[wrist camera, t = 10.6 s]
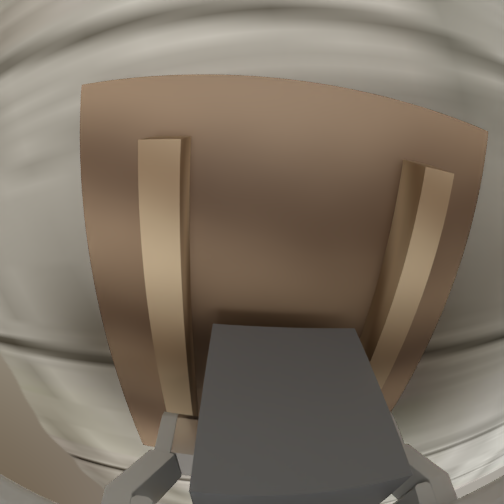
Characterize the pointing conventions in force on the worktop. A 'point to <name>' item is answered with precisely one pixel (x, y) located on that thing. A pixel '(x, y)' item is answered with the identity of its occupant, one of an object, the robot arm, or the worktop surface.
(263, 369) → the grey block
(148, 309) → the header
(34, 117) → the worktop surface
